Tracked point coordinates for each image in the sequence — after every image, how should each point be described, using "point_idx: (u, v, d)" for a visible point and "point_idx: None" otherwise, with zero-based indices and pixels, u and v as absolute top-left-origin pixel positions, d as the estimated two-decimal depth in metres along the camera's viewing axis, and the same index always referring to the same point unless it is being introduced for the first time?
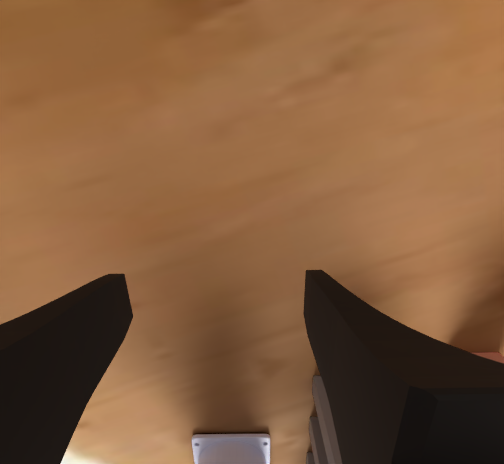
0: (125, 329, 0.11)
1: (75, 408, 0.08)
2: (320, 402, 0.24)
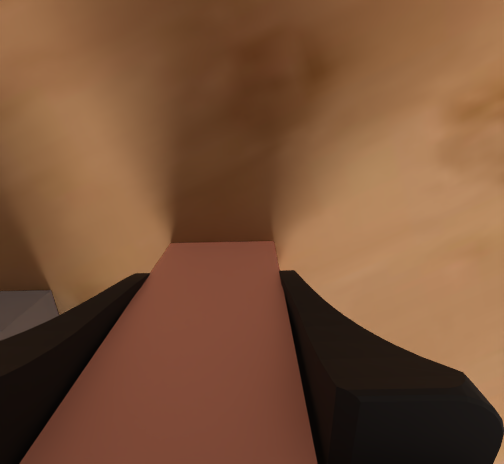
0: None
1: None
2: None
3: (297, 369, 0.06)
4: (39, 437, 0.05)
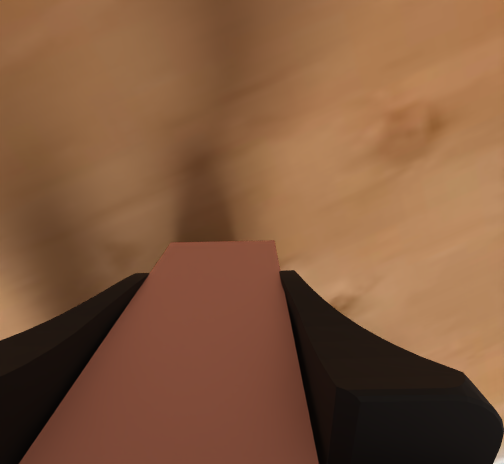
0: None
1: None
2: None
3: (298, 368, 0.06)
4: (39, 436, 0.05)
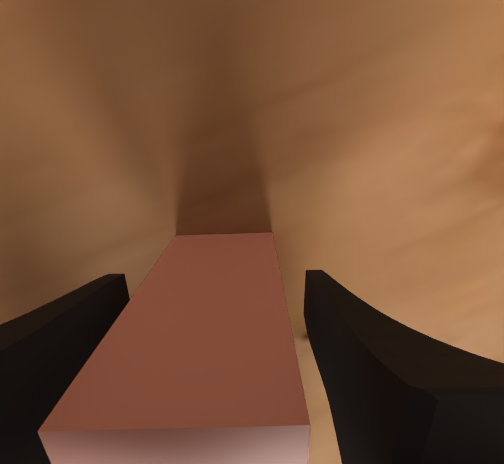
0: None
1: None
2: None
3: (291, 334, 0.07)
4: (70, 386, 0.06)
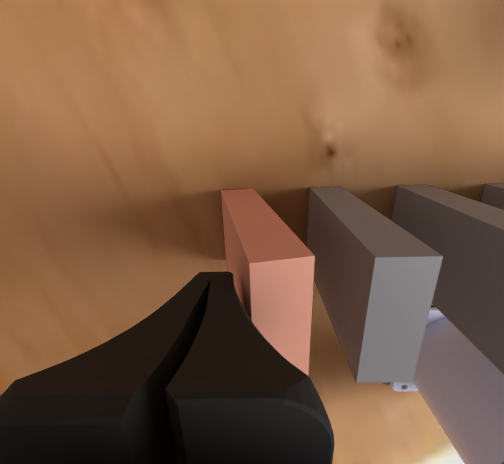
0: None
1: None
2: (315, 277, 0.17)
3: (238, 235, 0.10)
4: None
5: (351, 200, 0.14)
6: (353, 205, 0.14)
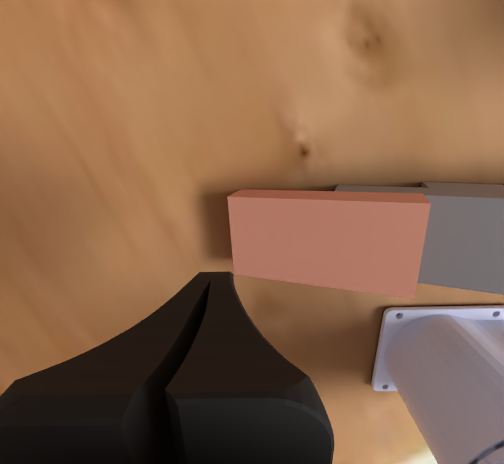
0: None
1: None
2: None
3: (372, 202, 0.13)
4: (394, 295, 0.15)
5: (400, 188, 0.16)
6: (420, 190, 0.15)
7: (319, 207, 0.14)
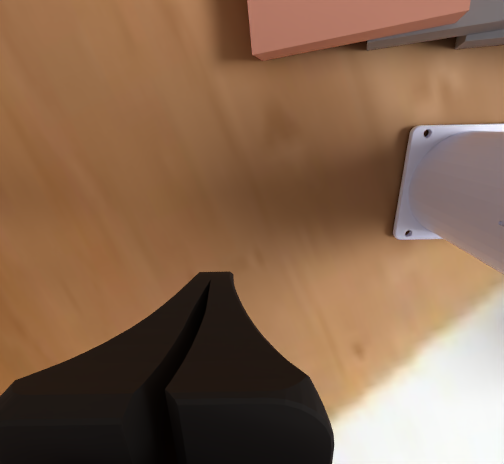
0: None
1: None
2: (422, 32, 0.14)
3: None
4: (444, 13, 0.12)
5: None
6: None
7: None
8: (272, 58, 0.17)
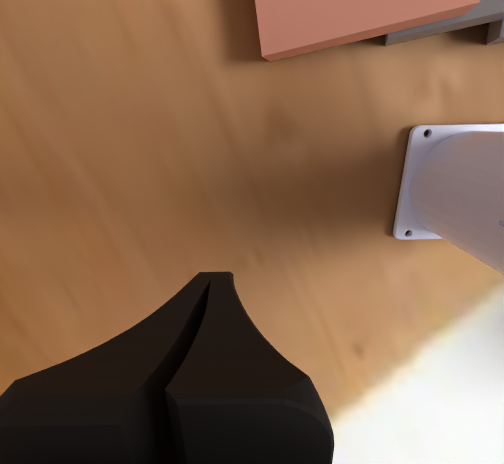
0: None
1: None
2: (444, 24, 0.14)
3: None
4: (455, 6, 0.13)
5: None
6: None
7: None
8: (280, 58, 0.17)
